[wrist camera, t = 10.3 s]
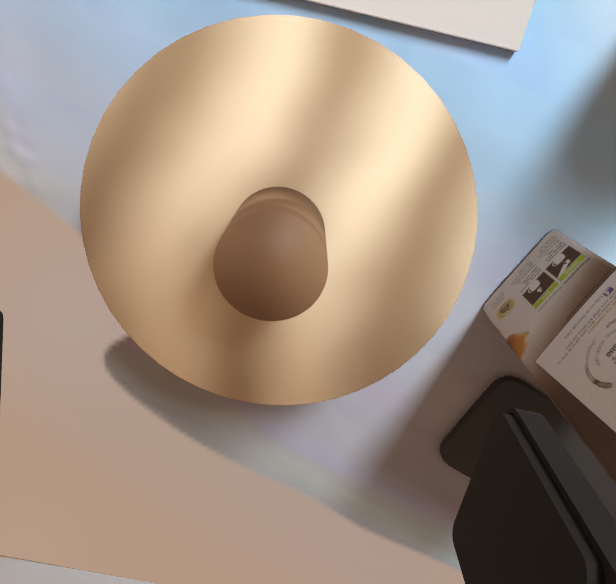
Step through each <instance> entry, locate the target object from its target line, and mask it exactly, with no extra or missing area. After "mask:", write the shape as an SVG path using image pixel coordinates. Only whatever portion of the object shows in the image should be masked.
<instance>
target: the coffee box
mask: <svg viewBox="0 0 616 584" xmlns="http://www.w3.org/2000/svg"><path fill="white" fill-rule="evenodd" d="M483 310H484V312H485V313H486V315H487V316H488V318H489V319H490V320H491V322H492V323H493V325H494V326H495V327H496V329H497V330H498V331H499V332H500V334H501V335H502V336H503V338H504V339H505V340H506V342H507V343H508V344H509V345H510V347H511V348H512V349H513V351H514V352H515V353H516V355H517V356H518V357H519V359H520V360H521V361H522V363H523V364H524V365H525V367H526V368H527V369H528V371H529V372H530V373H531V374H532V376H533V377H534V378H535V380H536V381H537V382H538V383H539V385H540V386H541V387H542V389H543V390H544V392H545V393H546V394H547V396H548V397H549V398H550V399H551V401H552V402H553V403H554V405H555V406H556V407H557V409H558V410H559V411H560V413H561V414H562V415H563V416H564V418H565V419H566V420H567V422H568V423H569V424H570V426H571V427H572V428H573V430H574V431H575V432H576V433H577V435H578V436H579V437H580V439H581V440H582V441H583V443H584V444H585V445H586V447H587V448H588V449H589V451H590V452H591V453H592V454H593V456H594V457H595V458H596V460H597V461H598V462H599V463H600V465H601V466H602V467H603V469H604V470H605V471H606V473H607V474H608V475H609V477H610V478H611V479H612V480H613V482H614V483H615V485H616V266H614V265H613V264H611V263H609V262H608V261H606V260H604V259H603V258H601V257H599V256H598V255H596V254H594V253H593V252H591V251H589V250H588V249H586V248H584V247H583V246H581V245H580V244H578V243H576V242H574V241H573V240H571V239H569V238H568V237H566V236H564V235H563V234H561V233H559V232H558V231H557V230H551V231H550V232H549V233H548V234H547V235H546V236H545V237H544V238H543V240H542V241H541V242H540V243H539V244H538V245H537V246H536V247H535V248H534V249H533V251H532V252H531V253H530V254H529V255H528V256H527V257H526V258H525V259H524V260H523V262H522V263H521V264H520V265H519V266H518V267H517V268H516V269H515V270H514V271H513V273H512V274H511V275H510V276H509V277H508V278H507V279H506V280H505V282H504V283H503V284H502V285H501V286H500V287H499V288H498V289H497V291H496V292H495V293H494V294H493V295H492V296H491V297H490V298H489V300H488V301H487V302H486V303H485V305H484V307H483Z"/></svg>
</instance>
